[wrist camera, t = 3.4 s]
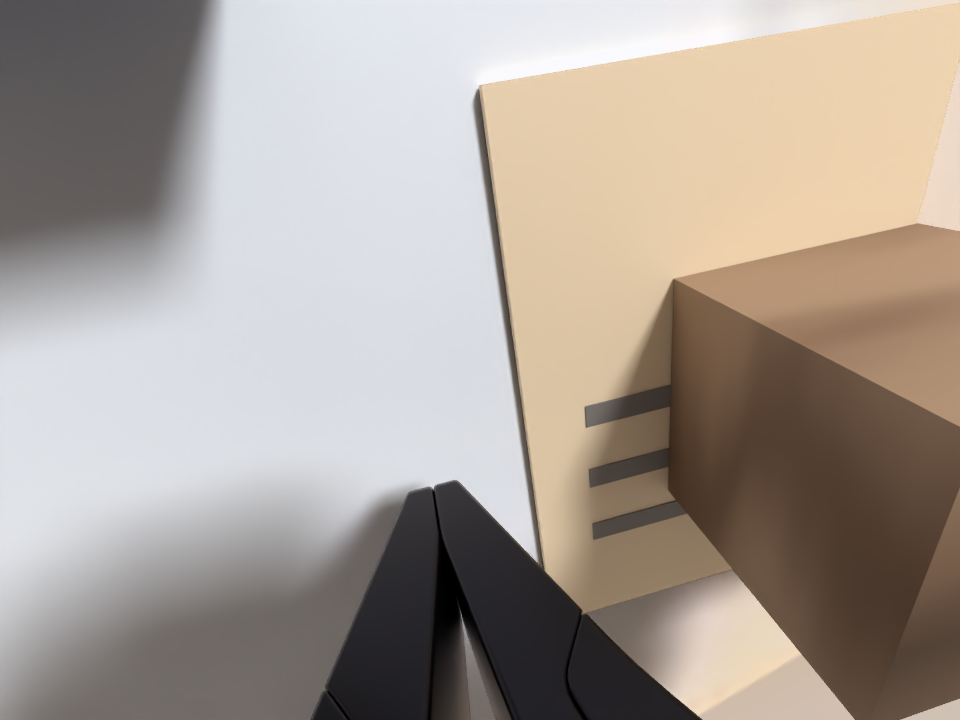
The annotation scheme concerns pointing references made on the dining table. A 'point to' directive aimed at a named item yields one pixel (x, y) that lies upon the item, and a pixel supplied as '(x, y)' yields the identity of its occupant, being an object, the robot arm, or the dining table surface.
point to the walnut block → (833, 453)
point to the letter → (681, 245)
